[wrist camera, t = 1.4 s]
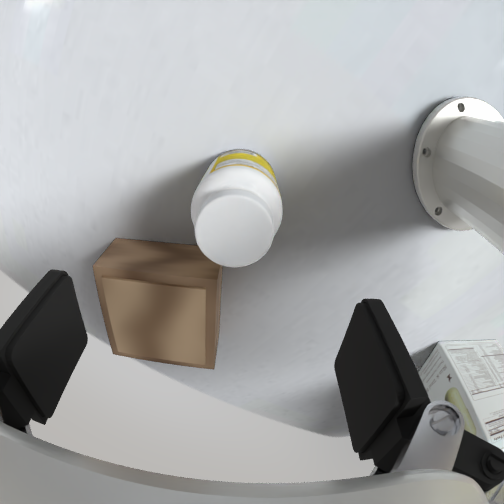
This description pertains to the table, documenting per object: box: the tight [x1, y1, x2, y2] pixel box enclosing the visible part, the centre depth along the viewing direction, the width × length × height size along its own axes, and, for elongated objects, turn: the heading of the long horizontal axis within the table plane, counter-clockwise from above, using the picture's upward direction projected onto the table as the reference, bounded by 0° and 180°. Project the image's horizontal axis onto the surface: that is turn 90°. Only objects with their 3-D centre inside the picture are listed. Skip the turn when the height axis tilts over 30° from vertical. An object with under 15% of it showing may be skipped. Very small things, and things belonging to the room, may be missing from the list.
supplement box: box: [418, 340, 504, 452], centre depth 28 cm, size 13×13×18 cm
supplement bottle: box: [191, 149, 283, 267], centre depth 20 cm, size 5×5×10 cm
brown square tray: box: [93, 238, 222, 369], centre depth 27 cm, size 10×10×5 cm
